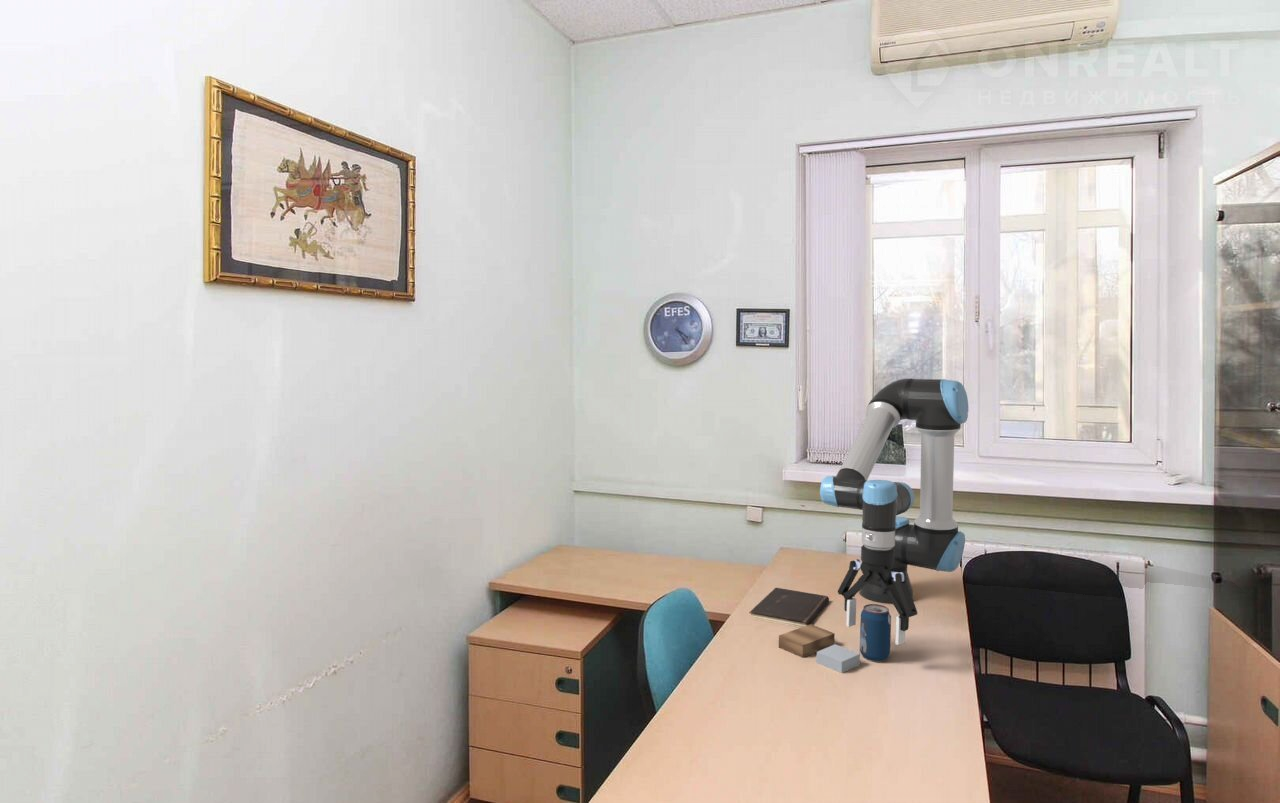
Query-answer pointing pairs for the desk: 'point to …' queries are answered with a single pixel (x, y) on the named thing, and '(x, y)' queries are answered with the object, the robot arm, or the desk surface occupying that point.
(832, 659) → the slate block
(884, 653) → the soda can
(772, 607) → the hardcover book
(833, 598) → the desk surface
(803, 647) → the walnut block
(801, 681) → the desk surface
